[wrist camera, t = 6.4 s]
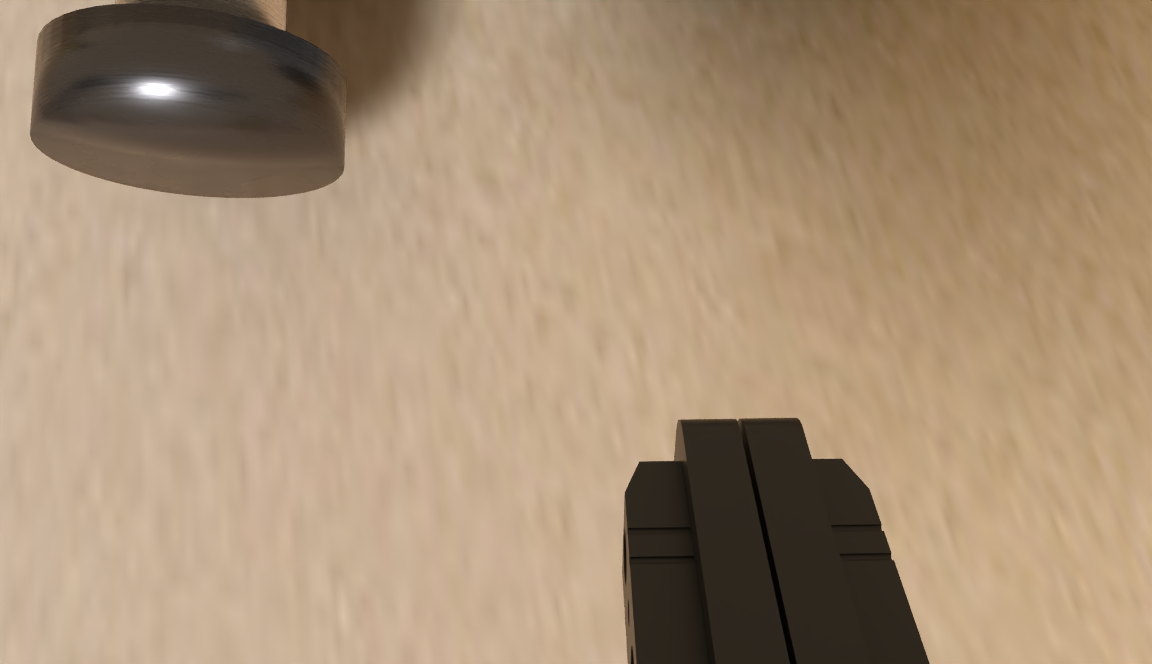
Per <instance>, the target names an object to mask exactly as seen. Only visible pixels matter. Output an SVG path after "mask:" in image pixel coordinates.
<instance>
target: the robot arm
mask: <svg viewBox="0 0 1152 664" xmlns="http://www.w3.org/2000/svg"><path fill="white" fill-rule="evenodd" d="M622 575H623V591H624V607H625V624H626V637H627V657H628V664H929V661H928V658H927V655H926V652H925V649H924V646H923V643H922V641H921V638H920V635H919V632H918V629H917V626H916V623H915V620H914V617H913V614H912V612H911V609H910V606H909V603H908V600H907V597H906V594H905V591H904V588H903V585H902V582H901V580H900V577H899V574H898V571H897V568H896V565H895V562H894V560H892V559H891V551H890V548H889V545H888V542H887V539H886V536H885V533H884V531H882V530H881V522H880V519H879V516H878V513H877V510H876V507H875V504H874V501H873V498H872V495H871V493H870V490H869V488H868V487H867V486H866V485H865V484H864V483H863V482H862V480H861V479H860V478H859V477H858V476H857V475H856V474H855V473H854V472H853V470H852V469H851V468H850V467H849V466H848V465H847V464H846V463H845V461H844V460H843V459H812V458H811V454H810V451H809V448H808V444H807V441H806V437H805V434H804V430H803V427H802V424H801V422H800V420H799V419H798V418H754V419H739V420H738V421H737V420H736V419H696V420H678V423H677V430H676V443H675V456H674V461H651V462H639V464H638V466H637V468H636V470H635V472H634V474H633V476H632V479H631V481H630V483H629V485H628V487H627V489H626V491H625V504H624V535H623V566H622Z"/></svg>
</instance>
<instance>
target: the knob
mask: <svg viewBox="0 0 1152 664" xmlns="http://www.w3.org/2000/svg"><path fill="white" fill-rule="evenodd" d="M286 9H287V0H115V4H112V5H103V6H95V7H90V8H85V9H80V10H76V11H73V12H70V13H67V14H64V15H62V16H60V17H58V18H56V19H54V20H52V21H51V22H49V23H48V24H47V25H45V26H44V27H43V29H42V30H41V32H40V33H39V36H38V40H37V50H36V63H35V76H34V89H33V102H32V115H31V128H30V136H31V140H32V142H33V143H34V145H35V146H36V147H37V148H38V149H39V150H40V151H41V152H42V153H44V154H45V155H47V156H48V157H50V158H51V159H53V160H55V161H57V162H59V163H61V164H63V165H65V166H67V167H70V168H72V169H74V170H77V171H80V172H82V173H85V174H88V175H91V176H94V177H98V178H101V179H104V180H108V181H112V182H116V183H120V184H124V185H129V186H133V187H138V188H143V189H149V190H155V191H161V192H168V193H175V194H184V195H193V196H206V197H224V198H260V197H276V196H285V195H292V194H298V193H304V192H308V191H312V190H316V189H319V188H322V187H325V186H327V185H329V184H331V183H333V182H334V181H335V180H337V179H338V178H339V177H340V176H341V175H342V173H343V170H344V155H345V121H346V86H347V85H346V77H345V75H344V73H343V70H342V69H341V68H340V66H339V65H338V64H337V63H336V62H335V61H334V60H333V59H332V58H331V57H330V56H329V55H328V54H326V53H325V52H323V51H322V50H321V49H319V48H318V47H316V46H314V45H313V44H311V43H309V42H307V41H306V40H304V39H302V38H300V37H297V36H295V35H293V34H291V33H289V32H286Z"/></svg>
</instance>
